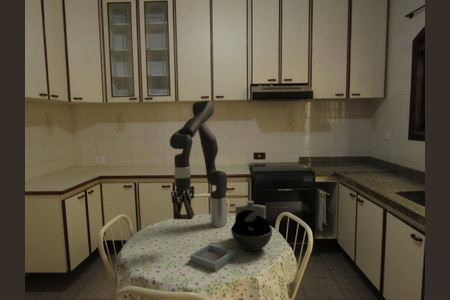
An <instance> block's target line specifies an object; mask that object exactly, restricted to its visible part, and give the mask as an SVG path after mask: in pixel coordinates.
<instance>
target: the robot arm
mask: <svg viewBox="0 0 450 300" xmlns="http://www.w3.org/2000/svg"><path fill="white" fill-rule="evenodd" d="M191 108H192V113H193V117H191V118H190V119H188V120H187V121H186V122H185V123H184V124H183V127H181V128H180V129H178V130H177V131H175V132H174V133H173V134H172V135H171V136H170V139H169V145H170V147H171V148H172V149H175V150H182V151H181V153H177V154H175V155H174V185H175V190H174V191H173V190H172V191H171V192H170V194H171V195H170V196H171V203H172V204H173V205H175V212H176V211H177V212H182V209H181V204H180V203H181V200H182V199H183V197H184V196H183V194H186V195H187V197H188V200H189V203H190V205H191V206H192V199H194V198H195V186H194V185H191V184H192V183H191V182H192V181H191V166H190V165H191V164H190V156H191V152H192V151H191V150H192V147H193V139H192V138H194V137H195V135H196V134H197V132H198V134H199V139H200V145H201V150H202V154H203V159H204V165H205V173H206V179H207V183H208V184H209V185H210V186H214V187H215V190H213V191H211V192H210V195H209V196H210V226H211V227H214V228H222V227H225V226H226V225H227V224H228V215H227V214H228V213H227V212H228V211H227V210H228V209H227V203H226V201H227V199H226V194H227V190H228V175H227V173H226V172H225V171H222V170H217V168H216V157H217V156H218V152H219V147H218V142H217V138H216V136H215V134H214V133H213V132H212V131H211V130H210V129H209V128H208V126H207V125H206V122H207V121H208V120H209V119H210V118H211V117H212V116H213V115H214V112H215V107H214V104H213V102H212V101H210V100H202V101H196V102H194V103H193V104H192V106H191ZM180 195H181V196H180ZM179 196H180V198H179Z"/></svg>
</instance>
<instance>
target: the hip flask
mask: <svg viewBox="0 0 450 300" xmlns="http://www.w3.org/2000/svg"><path fill="white" fill-rule="evenodd" d="M254 203H255V202H254V201H253V200H246V204H240V205H237V204H236V205H235V208H234V209H235V217H236V216H237V215H238V213H241V212H242V211H245V210H251V211H254V212H252V213H251V214H249V215H248V216H247V218H246V219H245V222H247V221H250V222H252V221H253V220H254V219H256V216H260V217H262V218H265V219H266V217H267V216H266V210H267V209H266V205H261V204H254ZM266 220H267V219H266Z"/></svg>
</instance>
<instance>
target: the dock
mask: <svg viewBox="0 0 450 300" xmlns="http://www.w3.org/2000/svg"><path fill="white" fill-rule="evenodd" d="M189 257H190V259H189V260H188V263H190V264H192V265H195V266H197V267H201V268H202V269H205V270H209V271H211V272H213V273H217V272H219V270H221V269H222V268H224V267H226V266H227V265H228V264H229V263H230V262H231V261H233V260H235V259H236V255H235V251H234V250H231V249H228V248H226V247H221V246H218V245H215V244H212V243H209V244H206V245H205V246H204V247H202V248H200V249H198V250H196V251H195V252H193V253H191V254H190V256H189Z"/></svg>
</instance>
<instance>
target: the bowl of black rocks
mask: <svg viewBox="0 0 450 300" xmlns="http://www.w3.org/2000/svg"><path fill="white" fill-rule="evenodd" d="M252 212H254V211H251V210H245V211H242V212H241V213H238V215H237V216H236V215H235V219H234V220H235V221H234V224H233V225H232V227H231V228H230V231H231V235H232V237H233V240H234V242H235V243H236V244H237V245H238V246H239V247H241V248H242V249H244V250H247V251H259V250H261V249H263V248H264V247H265V246H267V245H268V244H269V242H270V240H271V239H272V235H273V228H272V226H271V225H270V223H269V222H268V220H267V219H265V218H262V217H260V216H256V219H254V220H253V221H252V222H250V221H247V222H245V219H246V218H247V216H248V215H249V214H251V213H252Z"/></svg>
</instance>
